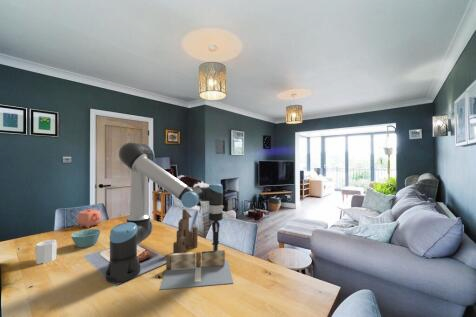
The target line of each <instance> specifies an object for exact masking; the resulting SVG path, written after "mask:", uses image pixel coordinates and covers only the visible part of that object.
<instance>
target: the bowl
mask: <svg viewBox="0 0 476 317" xmlns="http://www.w3.org/2000/svg"><path fill="white" fill-rule="evenodd" d="M101 231H102V230H101V229H99V228H87V229H84V230H80V231H77V232H76V231H75V232H74V233H72V234H71V235H70V237H71V239H72V241H73V243H74V245H75V247H77V248H78V249H83V248H84V249H85V248H88V247H89V248H90V247H92V246H94V245H95V244H96V243H97V242H98V239H99V237H100V234H101Z"/></svg>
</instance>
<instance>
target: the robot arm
mask: <svg viewBox="0 0 476 317" xmlns="http://www.w3.org/2000/svg"><path fill="white" fill-rule="evenodd" d="M155 156H156V155H155V151H154V149H153V148H152V147H151V146H150V145H147V144H145V143H138V142H127V143H125V144H123V145H122V146H121V147H119V150H118V158H119V160H120V161H121V163H122V164H124V165H125V166H126V167H127V169H128V170H129V171H130V197H129V198H130V201H129V202H130V204H129V215H128V216H127V217H126V222H122V223H119V224H117V225H114V226H113V227H112V229H111V230H110V233H109V262H108V264H107V267H106V269H105V270H106V271H105V275H104V278H105V280H106V281H107V282H109V283H122V282H125V281H129V280H132V279H133V278H135V277H137V276H139V274H140V273H141V269H142V268H141V264H140V261H139V258H138V245H139V244H140V243H142V242H143V241H145V240H146V239H147V238H148V237H149V236H150V235H151V234H152V232H153V227H154V226H153V222H152V221H151V216H150V215H149V213H148V190H149V189H148V187H149V186H148V185H149V180H150V181H152V182H154V183H155V184H156V185H158V186H159V187H160V188H162V189H163V190H165V191H167V192H168V193H170V194H171V195H172V196H174V197H175V198H177V199H178V200H180V202H181V204H182V206H184V207H185V208H188V209H190V208H193V207H196V206H197V205H198V204H199V203H200V202H208V212H209V213H208V220H209V221H211V226H212V227H211V230H212V243H211V245H212V251H219V243H220V240H219V237H220V236H219V234H220V233H219V232H220V226H221V225H220V221H222V220H223V217H224V214H223V209H224V208H225V206H224V205H223V204H224V203H223V200H224V199H223V198H224V193H223V192H224V190H223V184H222V183H210V184H208V187H207V186H206V187H200V186H199V187H198V186H197V187H196V186H193V187H192V186H191V187H190V186H189V185H187V184H185V183H184V182H183V181H181V180H180V179H178V178H177V177H175V175H173V174H171V173H170V172H168V171H166V170H165V169H164V168H162V167H161V166H159V165H158V164H156V163H155V162H154V160H155ZM148 179H149V180H148Z"/></svg>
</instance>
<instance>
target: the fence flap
mask: <svg viewBox="0 0 476 317" xmlns="http://www.w3.org/2000/svg"><path fill="white" fill-rule="evenodd" d="M225 253H226V252H225V250H223V249H221V250H218V251H213V250H206V251H204V250H203V251H201V262H202V267H208V266H221V265H225V260H226V256H225V255H226V254H225Z"/></svg>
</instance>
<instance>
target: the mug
mask: <svg viewBox="0 0 476 317" xmlns="http://www.w3.org/2000/svg"><path fill="white" fill-rule="evenodd" d="M57 244H58V243H57V240H56V239H48V240H43V241H40V242H38V243H36V244H35V247H34V252H35V263H36V264H37V265H42V264H41V263H45V264H47V262H48V263H51V262H53V261H55V260H56V259H57ZM50 261H51V262H50Z"/></svg>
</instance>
